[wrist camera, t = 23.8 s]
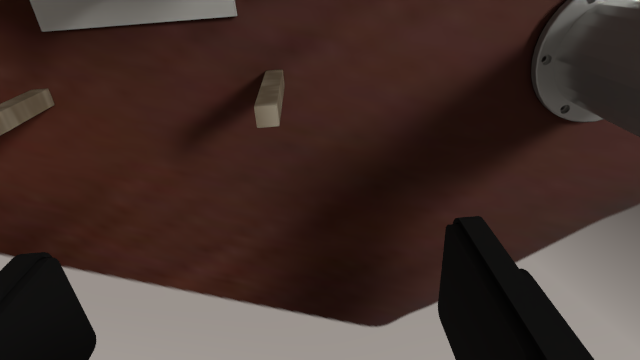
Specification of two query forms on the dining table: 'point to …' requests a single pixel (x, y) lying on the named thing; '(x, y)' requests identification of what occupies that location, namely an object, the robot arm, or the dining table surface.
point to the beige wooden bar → (39, 100)
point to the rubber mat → (124, 12)
